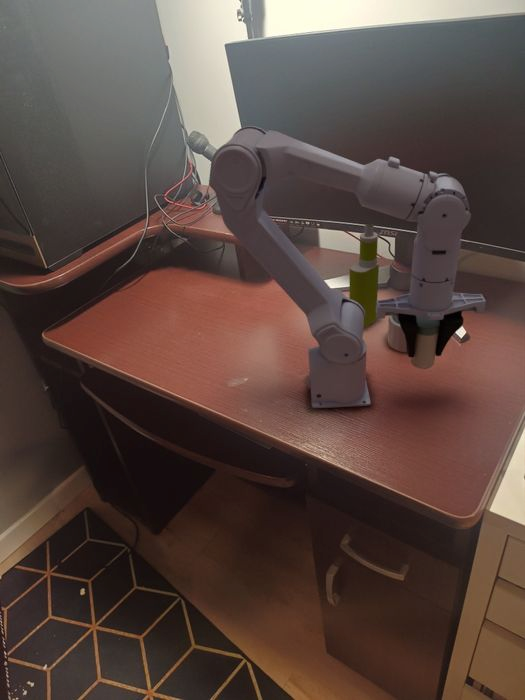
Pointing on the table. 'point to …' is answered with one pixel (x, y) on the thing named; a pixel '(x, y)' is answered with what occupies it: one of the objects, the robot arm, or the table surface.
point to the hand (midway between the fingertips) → (423, 352)
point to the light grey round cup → (396, 334)
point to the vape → (366, 275)
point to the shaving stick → (425, 343)
